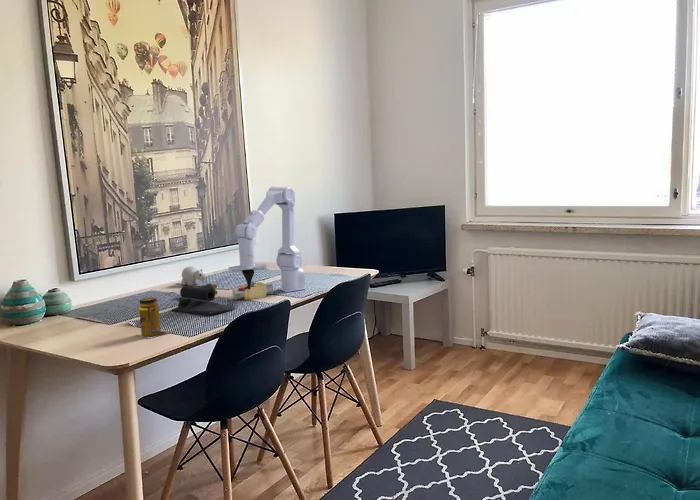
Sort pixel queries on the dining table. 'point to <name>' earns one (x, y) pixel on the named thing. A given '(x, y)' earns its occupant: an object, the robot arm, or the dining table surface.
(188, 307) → the dark slate chunk
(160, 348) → the dining table surface
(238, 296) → the valve
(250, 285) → the lever
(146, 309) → the condiment
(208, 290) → the pipe connector
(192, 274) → the chubby cartoon animal
